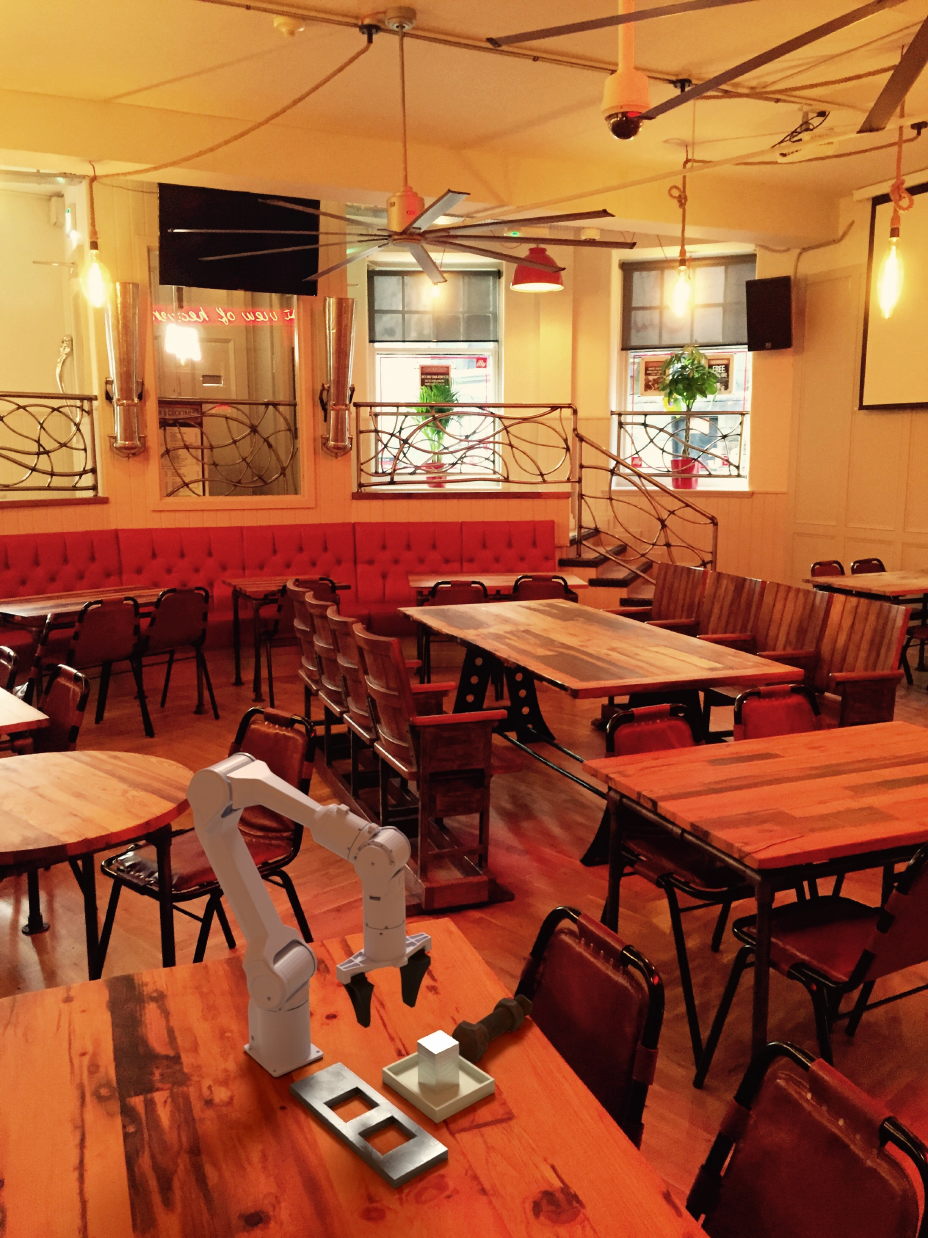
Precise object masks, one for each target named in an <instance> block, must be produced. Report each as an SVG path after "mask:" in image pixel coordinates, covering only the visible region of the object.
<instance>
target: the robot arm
mask: <svg viewBox="0 0 928 1238" xmlns="http://www.w3.org/2000/svg"><path fill="white" fill-rule="evenodd" d="M185 797H186V799H187V801H188V803H189V807H190V808H191V810H192V815H193V825H194V832H195V833H196V836H197V839H198V840H199V842H200V845H201V847H202V849H203V851H204V853H205V856H206V857H207V860H208V862H209V864H210V866H211V868H212V870H213V872H214V875H215V877H216V879H217V882H218V883H219V885H220V888H221V890H222V891H223V894H224V896H225V899H226V901H227V903H228V905H229V907H230V908H231V911H232V913H233V915H234V919H235V920H236V922H237V924H238V927H239V928H240V931H241V933H242V935H243V937H244V940H245V941H246V944H247V945H246V949H245V953H244V956H243V961H242V965H241V967H242V969H243V971H244V973H245V977H246V986H247V987H246V988H247V992H248V995H249V997H250V999H249V1001H248V1005H247V1006H248V1007H247V1016H248V1017H247V1018H248V1019H247V1020H248V1040H249V1041H248V1042H249V1043H246V1044H245V1045H243V1050H244V1051H245V1052H247V1054H248V1055H250V1056H251V1058H252V1059H253V1060H255V1061H256V1062H257V1063H258V1064H259V1065H260V1066H262V1067H263V1069H265V1070H266V1071H267V1072H268V1073H269V1074H270V1075H272V1076H273V1077H274V1078H278V1077H281V1076H283V1075H284V1074H287V1073H289V1072H291V1071H293V1070H296V1069H298V1068H300V1067H303V1066H304V1065H308V1064H309V1063H311V1062H313V1061H314V1062H315V1061H316V1060H318V1059H321V1058H322V1057H324V1051H322V1050H321V1049H320V1048H318V1047H317V1046H316V1045H315V1044H313V1043H312V1037H311V1035H312V1034H311V1033H312V1032H311V1012H310V1011H311V1010H310V1007H311V1006H310V987H311V984H310V979H311V978H313V976H315V974H316V971H317V969H318V959H317V956H316V954H315V952H314V950H313V949H312V947H311V946H310V945H308V943H306V941H304V939H303V938H302V937H301V934H300V931H298V929H297V928H294V927H291V926H289V925H285V924H284V923H283V921H282V919H281V917H280V914H279V912H278V910H277V908H276V906H275V904H274V902H273V899H272V897H271V896H270V895H271V894H270V893H269V892H268V889H267V887H266V884H265V883H264V880H263V878H262V877H261V874H260V872H259V870H258V868H257V866H256V864H255V861H254V859H253V857H252V854H251V853H250V850H249V848H248V847H247V844H246V842H245V840H244V838H243V835H242V833H241V832H240V829H239V828H238V825H239V822H240V818H241V816H242V814H243V811H244V809H245V808H249V807H253V806H258V805H261V806H264V807H265V808H267V809H269V810H271V811H273V812H275V813H277V814H280V815H282V816H284V817H286V818H288V819H290V820H291V821H294V822H295V823H298V824H299V825H302V826H304V827H305V828H307V829H309V831H310V833H311V838H312V840H313V842H315V843H317V844H318V845H320V846H322V847H324V848H325V849H327V850H329V851H330V852H332V853H334V854H335V855H337V856H339V857H341V858H342V859H344V860H346V861H348V862H349V863H351V864H353V869H354V870H355V873H356V874H357V875H358V877H359V879H360V881H361V891H362V920H363V921H362V923H363V924H362V925H363V926H362V927H363V929H362V930H363V948H362V949H360V950H359V951H357V952H356V953H355V954H353V955H352V956H351V957H349V958H348V959H346V960H344V961H343V962H341V963H339V964H337V965H335V975H336V977H335V978H336V980H337V981H339V983H341V984H342V985H343V988H344V990H345V991H346V993H347V996H348V997H349V999H350V1001H351V1004H352V1007H353V1010H354V1014H355V1019H356V1022H357V1023H358V1024H359V1025H360V1026H361V1027H363V1028H364V1029H367V1028H371V1021H372V1013H371V1012H372V1011H371V1009H372V1008H371V1004H372V997H373V993H374V989H375V984H373V983H372V982H370V981H369V980H368V976H366V974H367V973H369V972H372V971H374V970H378V969H384V968H389V967H393V968H395V969H399V974H400V986H401V987H400V989H401V999H402V1003H404V1004H405V1005H407V1006H408V1007H409V1008H411V1009H413V1008H415V1007H416V1004H417V1000H418V996H419V992H420V989H421V984H422V982H423V979H424V978H425V975H426V973H427V971H428V970H429V968H430V966H431V965H432V958H431V955H428V954H427V952H429V951H432V948H433V947H432V946H433V943H432V936H430V935H428V934H427V933H425V932H419V933H416V934H412V935H407V933H406V931H407V928H406V924H407V923H406V920H407V919H406V918H407V916H406V886H405V885H406V884H405V882H406V881H405V880H406V879H405V868H404V866H405V865H406V864H407V862H408V861H409V860H410V858H411V854H412V853H411V852H412V850H411V844H410V840H409V839H408V837H407V836H406V834H404V833H403V832H402V831H400V830H399V829H398V828H397V827H396V826H391V825H390V826H389V825H387V826H383V827H380V825H378V824H376V823H375V822H372V823H371V822H369V821H367V820H365V819H363V818H362V817H360V816H358V815H356V814H354V813H353V812H351V811H350V809H351V808H350V807H349V806H347V805H345V804H344V803H341V804H340V805H338V804H337V803H331V804H328V805H322V804H321V803H319V802H317V801H316V800H314V799H312V798H311V797H309V796H308V795H306V794H305V793H303V792H302V791H301V790H299V789H297V788H296V787H295V786H293V785H292V784H290V783H288V782H287V781H285V780H284V779H282V778H281V777H279V776H277V775H276V774H274V772H272V771H271V769H270V768H269V766H268V764H267V763H266V762H265V761H262V760H259V759H256V758H255V757H254V756H253V755H252V754H249V753H247V752H236V753H233V754H232V755H230V756H229V757H228V758H226V759H223V760H221V761H219V762H217V763H214V764H213V765H210V766H208V767H206V768H201V769H199V770H198V771H196V772H195V773H194V774H193V775H192V777H191V780H190V781H189V784H188V787H187V789H186V792H185Z"/></svg>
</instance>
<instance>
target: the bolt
mask: <svg viewBox="0 0 928 1238" xmlns="http://www.w3.org/2000/svg"><path fill="white" fill-rule="evenodd" d="M532 1009H533V1002H532V1001H531V1000H529V999H528V998H527V997H526V996H525V995H524V994H520V993H519V994H518V995H516V996H515V997H513V998H508V997H503V998H501V999H499V1000H498V1001H497V1003H496V1004H495V1006H494V1007H493V1010H492V1012H491V1013H489V1014H488V1015H486V1016H485V1017H483V1018H481V1019H480V1020H478V1021H476V1023H472V1022H470V1021H467V1020H462V1021H460V1022H459V1023H458V1024H457V1025H456V1026H455V1028H454V1029H453V1031H452V1033H451V1036H450V1037H451V1038H453V1039H454V1040H456V1041H457V1042H459V1055H460V1056H461V1057H463V1058H464V1059H466V1060H467V1061H469V1062H470V1063H471V1064H476V1063H477V1062H478V1063H479V1061H481V1059H482V1057H483V1056H484V1054H485V1053H486V1051H487V1050H488V1048H489V1046H488V1044H489V1043H491V1042H492V1041H494V1040H495V1039H496V1038H498V1037H499V1036H501V1035H502V1034H504V1033H505V1032H507V1033H515V1032H516V1031H517V1030H518V1029H520V1027H521V1025H522V1024H523V1023H524V1019H525V1018H526V1017H528V1016H529V1015H530V1014H531V1013H532V1011H533V1010H532Z"/></svg>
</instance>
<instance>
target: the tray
mask: <svg viewBox="0 0 928 1238" xmlns="http://www.w3.org/2000/svg"><path fill="white" fill-rule="evenodd" d="M381 1072H382V1073H381V1077H382V1079H381V1080H382V1082H384V1083H385V1084H386V1085H387V1086H388V1087H390V1088H391V1089H392V1090H394V1091H395V1092H396V1093H397V1094H399V1096H401V1097H402V1098H404V1099H405V1100H406V1101H407V1102H409V1103H410V1104H411V1105H412V1106H414V1107H416V1109H417V1110H419V1111H420V1112H421V1113H423V1114H424V1115H426V1117H428V1118H430V1120H432V1121H433V1122H434V1123H436V1124H438V1123H440V1122H442V1121H444V1120H445V1119H447V1118H450V1117H452V1115H455V1114H457V1113H459V1112H460V1111H462V1110H464V1109H466V1108H468V1107H470V1106H472V1105H473V1104H475V1103H477V1102H478V1101H480V1100H482V1099H484V1098H486V1097H488V1096H490V1095H491V1094H493V1093H495V1092H496V1091H495V1090H496V1087H495V1086H496V1079H495V1078H494V1077H492V1076H491V1075H489V1074H488V1073H486V1072H484V1071H483V1070H482V1069H481V1068H479V1067H477V1066H476V1065H474V1063H471V1062H469V1061H467V1060H466V1059H464V1058H463V1057H461V1056H460V1055H459V1084H458V1085H456V1086H454V1087H452V1088H450V1089H448V1090H447V1091H445V1092H443V1093H441V1094H439V1095H437V1096H436V1095H434V1094H433V1093H432V1092H431V1091H429V1090H428V1089H427V1088H425V1087H424V1086H423V1085H421V1084H420V1083H419V1082H418V1055H417V1051H415V1052H414V1053H411V1054H410V1055H407V1056H406V1057H404V1058H401V1059H399V1060H397V1061H395V1062H393V1063H391V1064H388V1065H387V1066H384V1067H383V1068H381Z"/></svg>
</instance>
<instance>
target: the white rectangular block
mask: <svg viewBox="0 0 928 1238" xmlns="http://www.w3.org/2000/svg"><path fill="white" fill-rule="evenodd" d="M416 1046H417V1050H416V1052H417V1055H418V1082H419V1083H420V1084H421V1085H423V1086H424V1087H425V1088H427V1089H428V1090H429V1091H431V1092H432V1093H433V1094H434V1095H436V1096H437V1095H439V1094H441V1093H443V1092H445V1091H447V1090H448V1089H450V1088H452V1087H454V1086H456V1085H458V1084H459V1042H457V1041H456V1040H454V1039H453V1038H451V1036H450V1035H448V1034H447V1033H445V1032H444V1031H442V1030H437V1031H436V1032H433V1033H431V1034H429V1035H428V1036H425V1037H422V1038H420V1039H419V1040H417V1041H416Z"/></svg>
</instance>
